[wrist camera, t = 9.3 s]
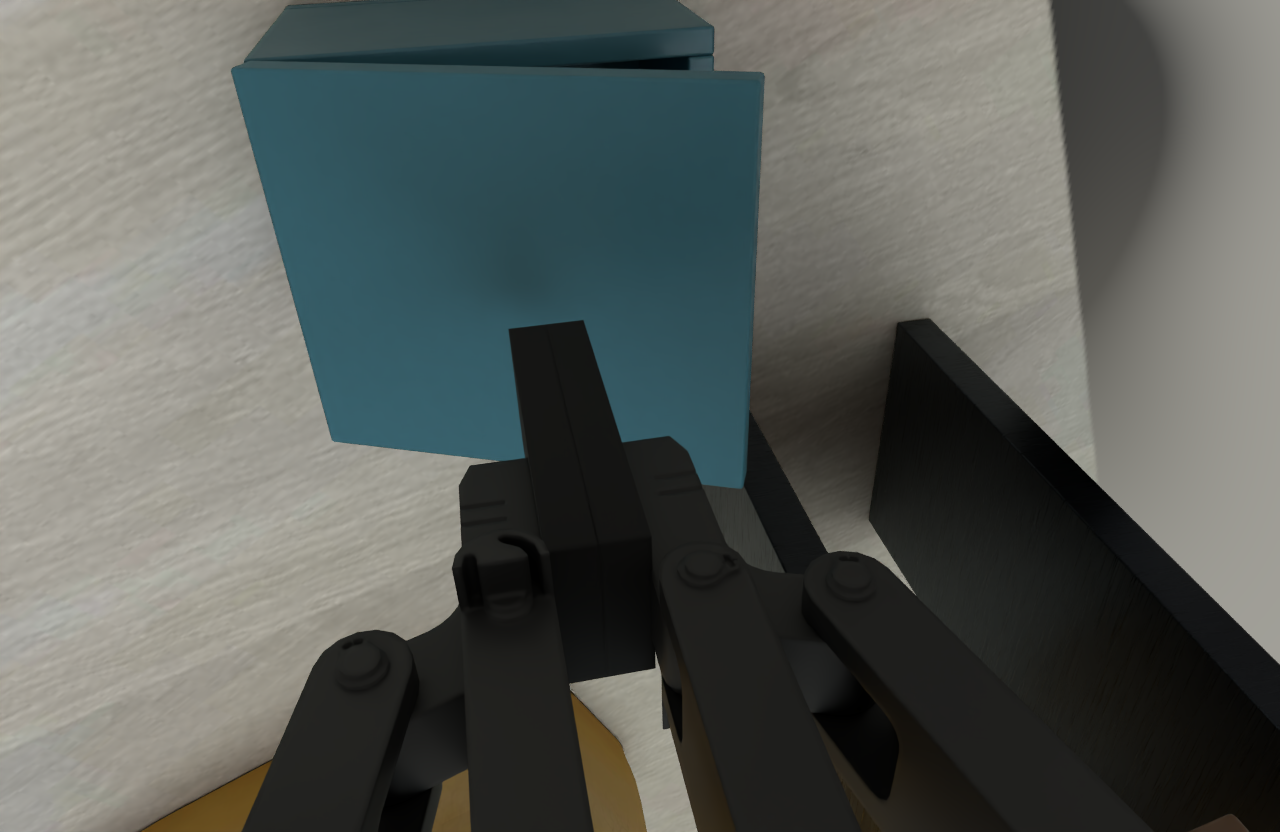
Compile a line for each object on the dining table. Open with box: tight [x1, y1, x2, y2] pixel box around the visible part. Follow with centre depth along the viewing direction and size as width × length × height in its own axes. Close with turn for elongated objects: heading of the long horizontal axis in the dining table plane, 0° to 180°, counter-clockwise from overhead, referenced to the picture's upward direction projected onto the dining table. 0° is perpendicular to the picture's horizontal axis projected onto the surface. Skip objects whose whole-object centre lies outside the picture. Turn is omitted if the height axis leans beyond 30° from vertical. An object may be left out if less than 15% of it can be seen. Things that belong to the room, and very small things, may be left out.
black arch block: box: [702, 319, 1280, 832], centre depth 29 cm, size 11×11×27 cm
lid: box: [231, 61, 765, 489], centre depth 22 cm, size 12×10×1 cm
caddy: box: [244, 0, 714, 71], centre depth 28 cm, size 11×10×8 cm
